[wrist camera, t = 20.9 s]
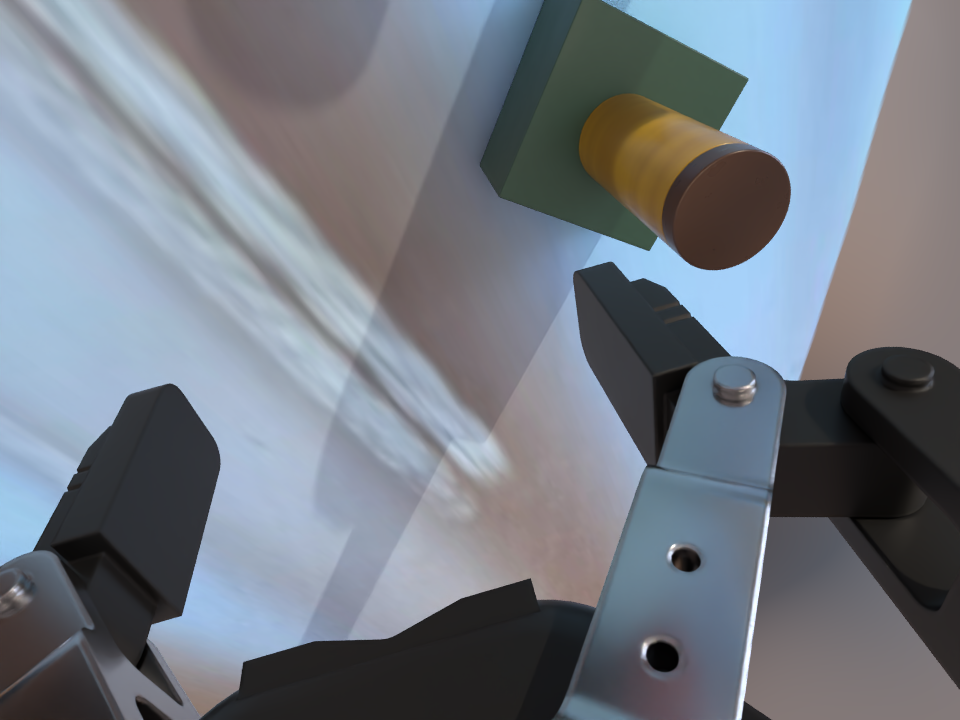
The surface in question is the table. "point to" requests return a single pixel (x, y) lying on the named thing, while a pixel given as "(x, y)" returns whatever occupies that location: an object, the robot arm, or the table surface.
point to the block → (592, 108)
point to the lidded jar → (686, 180)
